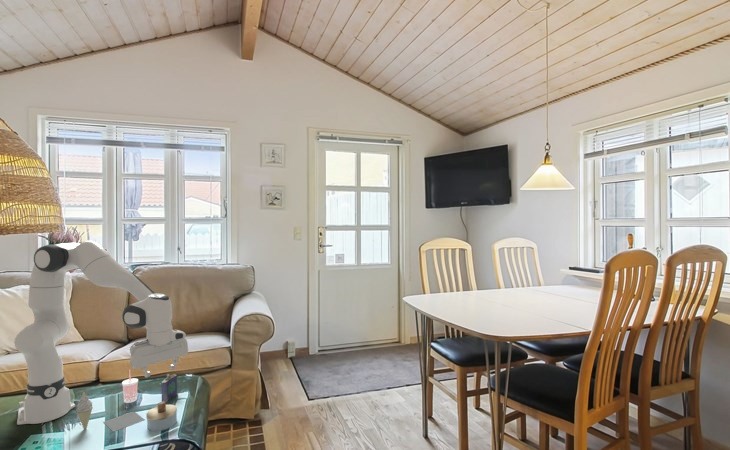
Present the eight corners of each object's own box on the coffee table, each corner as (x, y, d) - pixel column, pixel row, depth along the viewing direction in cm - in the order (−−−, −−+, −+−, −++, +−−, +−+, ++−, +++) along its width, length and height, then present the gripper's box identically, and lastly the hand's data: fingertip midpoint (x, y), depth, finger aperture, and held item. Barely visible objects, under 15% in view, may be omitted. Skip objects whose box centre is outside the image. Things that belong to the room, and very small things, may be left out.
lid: (153, 423, 146) (153, 412, 146) (141, 414, 153) (141, 404, 153) (181, 412, 155) (181, 402, 154) (169, 404, 161) (169, 394, 161)
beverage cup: (141, 400, 175) (140, 368, 174) (126, 406, 170) (125, 373, 169) (134, 397, 178) (133, 365, 178) (119, 402, 173) (118, 370, 173)
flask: (165, 403, 172) (164, 378, 171) (159, 403, 172) (158, 378, 172) (178, 393, 181) (178, 370, 181) (172, 393, 181) (172, 370, 181)
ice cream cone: (90, 425, 154) (89, 387, 154) (95, 430, 151) (93, 390, 151) (75, 431, 150) (73, 391, 150) (79, 435, 147) (78, 395, 147)
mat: (103, 423, 156) (103, 422, 156) (133, 412, 164) (133, 411, 164) (113, 433, 149) (113, 431, 149) (144, 421, 157) (144, 419, 157)
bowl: (143, 426, 153) (143, 414, 153) (169, 416, 161) (169, 405, 161) (154, 435, 147) (154, 423, 147) (181, 424, 154) (180, 412, 154)
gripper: (133, 345, 143) (134, 384, 143) (189, 332, 158) (190, 367, 159) (126, 342, 147) (127, 379, 147) (182, 329, 162) (182, 363, 163)
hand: (160, 372), depth 153 cm, fingers open, 8 cm apart
